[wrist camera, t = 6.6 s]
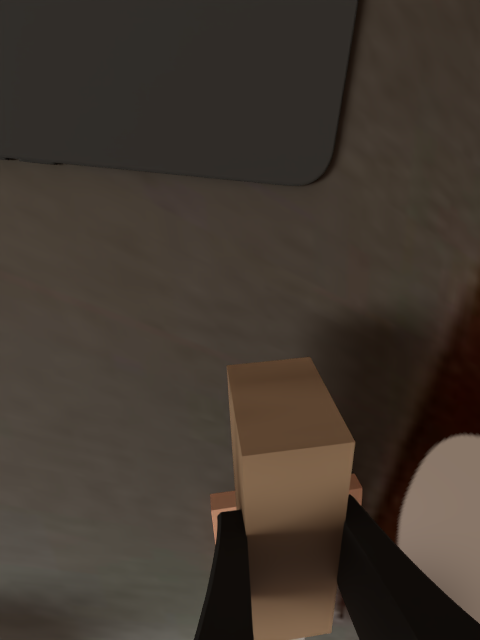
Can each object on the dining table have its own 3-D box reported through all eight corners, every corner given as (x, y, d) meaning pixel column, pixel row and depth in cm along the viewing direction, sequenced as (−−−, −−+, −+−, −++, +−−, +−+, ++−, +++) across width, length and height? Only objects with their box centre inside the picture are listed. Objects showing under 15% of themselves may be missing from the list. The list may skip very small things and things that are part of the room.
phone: (327, 191, 14) (-168, 143, 11) (320, 190, 14) (-145, 144, 12) (373, -85, 11) (-257, -221, 9) (361, -69, 12) (-220, -189, 9)
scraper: (296, 635, 19) (318, 735, 16) (245, 643, 19) (257, 747, 16) (310, 356, 12) (355, 442, 9) (226, 365, 11) (242, 456, 8)
